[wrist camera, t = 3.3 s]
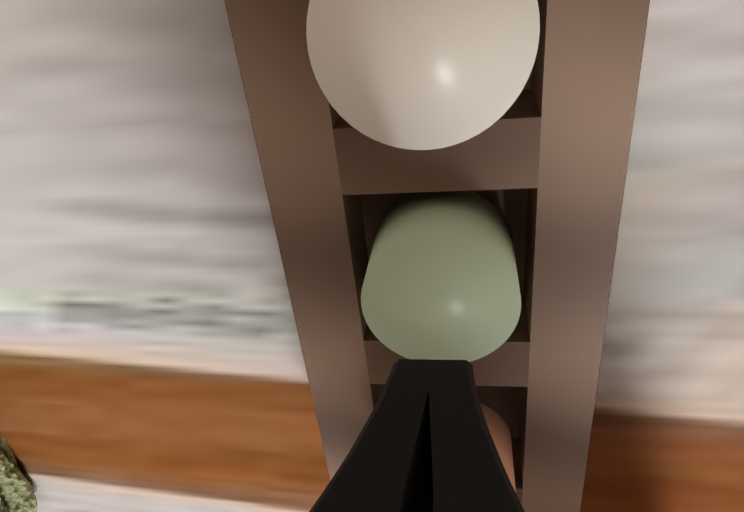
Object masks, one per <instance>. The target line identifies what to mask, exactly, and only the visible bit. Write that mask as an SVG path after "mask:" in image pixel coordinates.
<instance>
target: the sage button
mask: <svg viewBox="0 0 744 512" xmlns="http://www.w3.org/2000/svg"><path fill="white" fill-rule="evenodd" d="M361 307H362V312H363V315H364V318H365V321H366V323H367V325H368V326H369V328H370V330H371V331H372V332H373V334H374V335H375V336H376V337H377V338H378V339H379V340H380V341H381V342H382V343H383V344H384V345H385V346H386V347H388V348H389V349H391V350H392V351H394V352H395V353H397V354H399V355H401V356H403V357H405V358H408V359H429V360H467V361H468V362H471V361H474V360H477V359H480V358H482V357H484V356H486V355H488V354H490V353H491V352H493V351H495V350H496V349H497V348H499V347H500V346H501V345H502V344H503V343H504V342H505V341H506V340H507V339H508V338H509V337H510V335H511V334H512V332H513V331H514V329H515V327H516V325H517V323H518V320H519V317H520V312H521V294H520V287H519V280H518V273H517V266H516V259H515V252H514V245H513V238H512V234H511V230H510V227H509V225H508V223H507V221H506V219H505V217H504V216H503V214H502V213H501V212H500V211H499V209H498V208H497V207H496V206H494V205H493V204H492V203H491V202H490V201H488V200H487V199H486V198H484V197H482V196H480V195H479V194H477V193H474V192H472V191H443V192H416V193H410V194H408V195H406V196H404V197H402V198H401V199H399V200H398V201H396V202H395V203H394V204H393V205H392V206H391V207H390V208H389V209H388V210H387V212H386V213H385V214H384V216H383V217H382V219H381V221H380V223H379V225H378V228H377V232H376V235H375V239H374V243H373V247H372V251H371V255H370V259H369V263H368V267H367V271H366V274H365V278H364V282H363V286H362V291H361Z"/></svg>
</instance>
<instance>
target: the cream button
mask: <svg viewBox="0 0 744 512" xmlns="http://www.w3.org/2000/svg"><path fill="white" fill-rule="evenodd" d="M539 34H540V14H539V7H538V1H537V0H310V1H309V6H308V13H307V25H306V37H307V47H308V53H309V58H310V62H311V66H312V69H313V72H314V75H315V78H316V80H317V82H318V84H319V86H320V88H321V90H322V92H323V94H324V95H325V97H326V98H327V100H328V101H329V103H330V104H331V105H332V107H333V108H334V109H335V110H336V111H337V113H338V114H339V115H340V116H341V117H342V118H343V119H344V120H345V121H346V122H348V123H349V124H350V125H351V126H352V127H354V128H355V129H357V130H358V131H359V132H361V133H362V134H364V135H366V136H368V137H370V138H371V139H373V140H376V141H378V142H381V143H383V144H386V145H389V146H393V147H397V148H402V149H410V150H432V149H440V148H444V147H449V146H453V145H456V144H458V143H461V142H464V141H467V140H469V139H470V138H472V137H474V136H476V135H478V134H480V133H481V132H483V131H484V130H486V129H487V128H489V127H490V126H492V125H493V124H494V123H495V122H496V121H497V120H498V119H500V118H501V117H502V116H503V115H504V114H505V113H506V111H507V110H508V109H509V108H510V107H511V106H512V105H513V103H514V102H515V100H516V99H517V98H518V96H519V95H520V93H521V92H522V90H523V88H524V86H525V84H526V82H527V80H528V78H529V76H530V73H531V71H532V68H533V65H534V62H535V58H536V54H537V50H538V44H539Z"/></svg>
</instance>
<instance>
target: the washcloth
mask: <svg viewBox="0 0 744 512" xmlns="http://www.w3.org/2000/svg"><path fill="white" fill-rule="evenodd" d="M36 501H37V500H36V497H35V494H34V490H33V486H31V485H30V482H29V481H28V480H27V478H25V477H24V475H23V474H22V473H21V471H20V469H19V467H18V465H17V463H16V460H15V458H14V455H13V453H12V451H11V449H10V448H9V446H8V445H7V443H6V441H5V439H4V438H3V437H2V436H1V435H0V512H36V509H37V502H36Z"/></svg>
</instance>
